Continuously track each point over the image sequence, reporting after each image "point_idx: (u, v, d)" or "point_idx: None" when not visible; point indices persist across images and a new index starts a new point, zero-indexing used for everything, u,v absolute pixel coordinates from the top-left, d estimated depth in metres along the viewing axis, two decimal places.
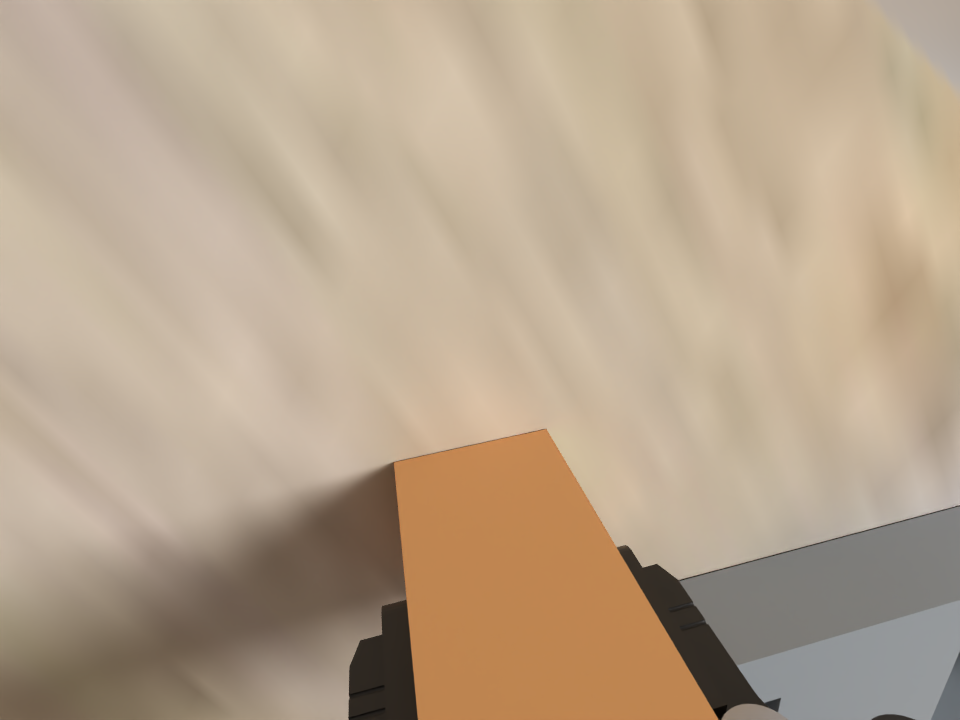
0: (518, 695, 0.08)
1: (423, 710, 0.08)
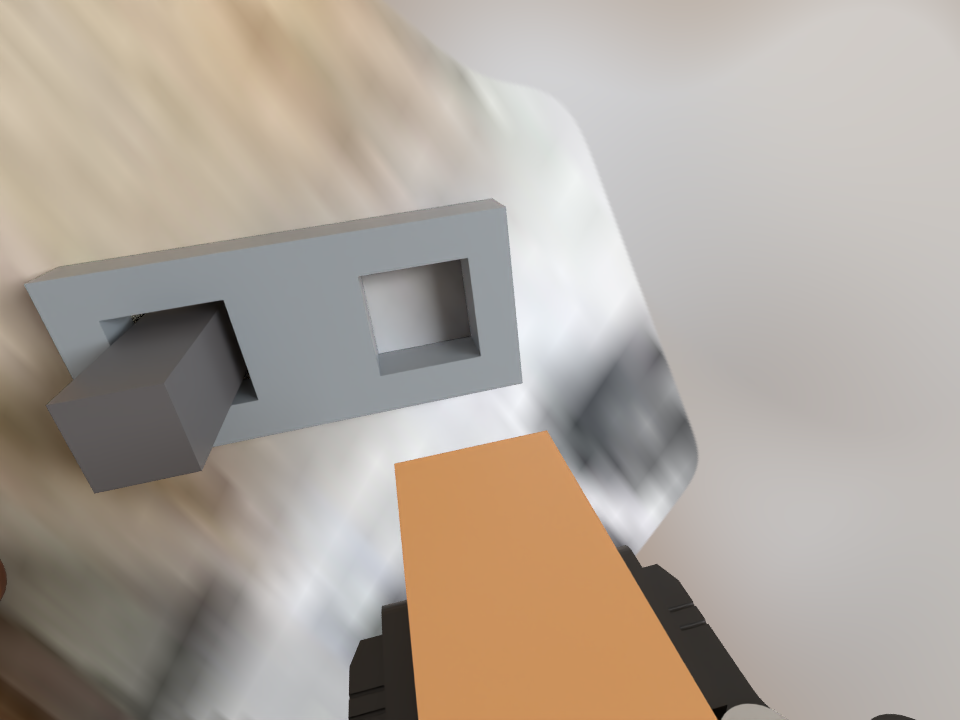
0: (518, 698, 0.08)
1: (424, 713, 0.08)
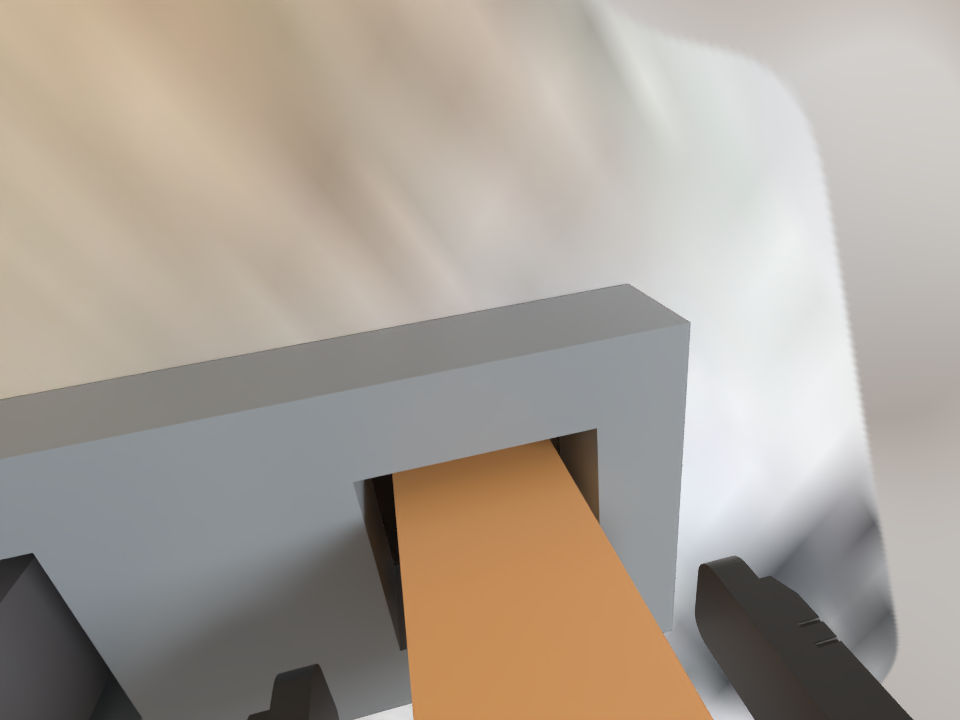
0: (491, 612, 0.09)
1: (410, 624, 0.09)
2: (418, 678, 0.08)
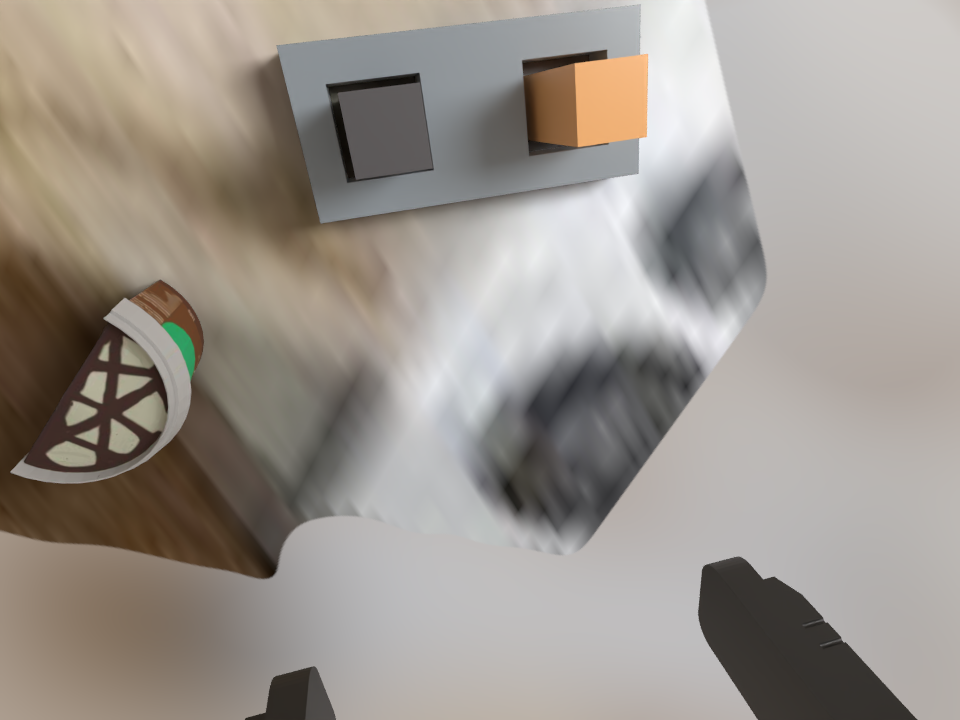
0: None
1: None
2: None
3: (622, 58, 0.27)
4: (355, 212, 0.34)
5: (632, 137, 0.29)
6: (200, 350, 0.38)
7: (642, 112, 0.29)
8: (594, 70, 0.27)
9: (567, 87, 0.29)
